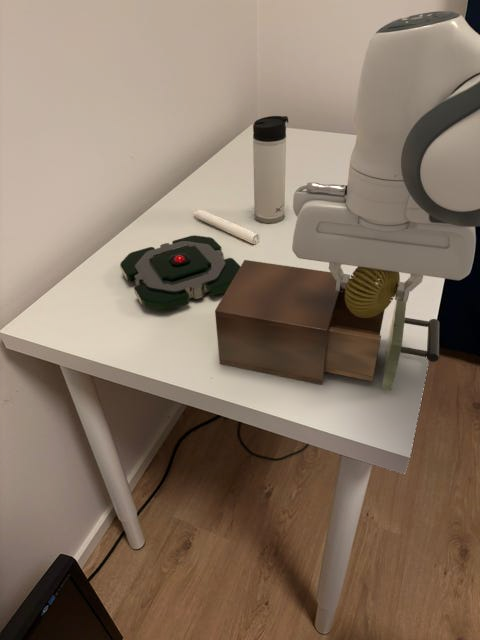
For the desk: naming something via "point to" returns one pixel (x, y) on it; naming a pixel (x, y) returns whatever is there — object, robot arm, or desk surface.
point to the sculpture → (370, 291)
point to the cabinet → (277, 320)
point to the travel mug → (269, 168)
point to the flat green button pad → (179, 272)
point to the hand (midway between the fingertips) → (371, 293)
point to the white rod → (227, 226)
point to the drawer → (372, 342)
